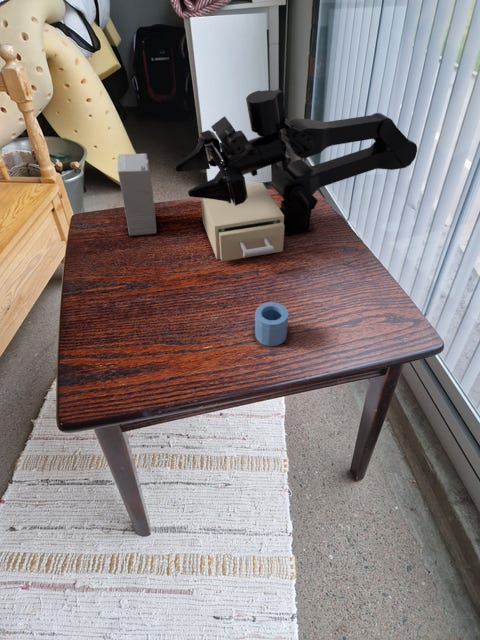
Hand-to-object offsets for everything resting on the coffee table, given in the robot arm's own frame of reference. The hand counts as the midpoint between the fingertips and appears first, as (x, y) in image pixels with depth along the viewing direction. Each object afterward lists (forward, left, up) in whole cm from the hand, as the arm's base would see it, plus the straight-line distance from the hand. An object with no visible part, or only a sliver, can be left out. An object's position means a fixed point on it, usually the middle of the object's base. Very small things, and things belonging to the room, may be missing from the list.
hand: (181, 181), depth 81 cm
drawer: (-12, +3, -15) cm, 19 cm away
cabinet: (-12, -2, -16) cm, 20 cm away
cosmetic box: (+9, -12, -16) cm, 22 cm away
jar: (-9, +30, -16) cm, 35 cm away
